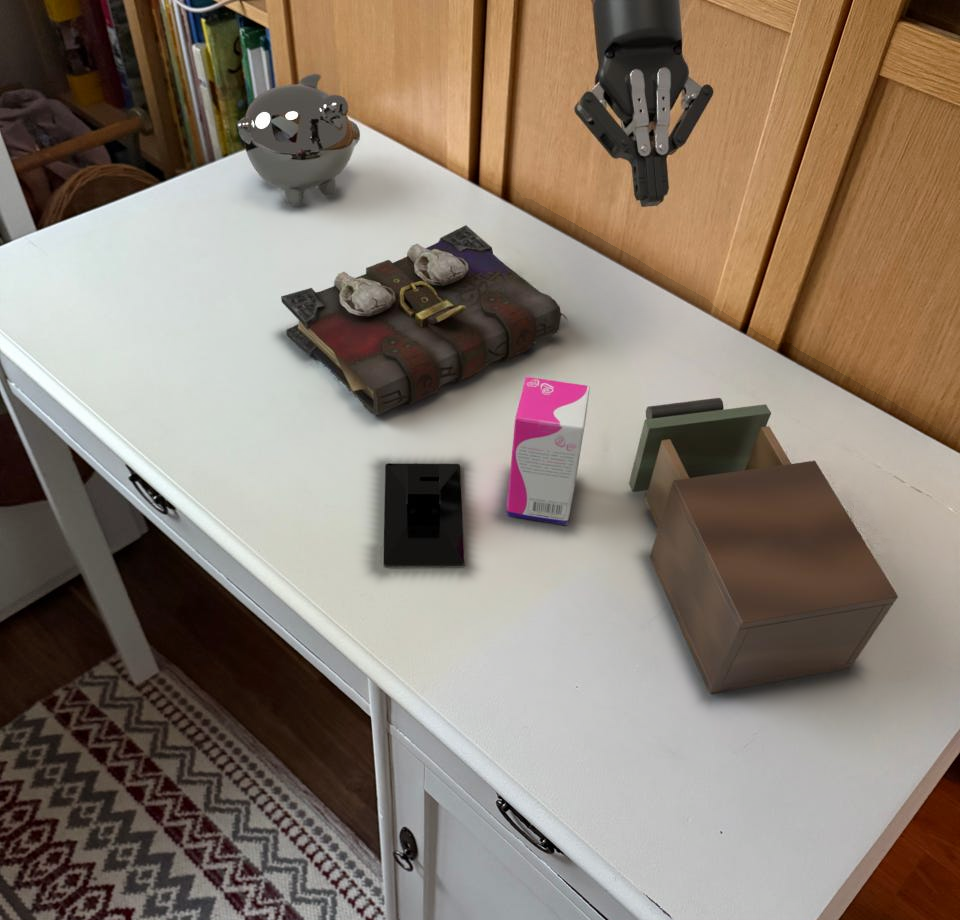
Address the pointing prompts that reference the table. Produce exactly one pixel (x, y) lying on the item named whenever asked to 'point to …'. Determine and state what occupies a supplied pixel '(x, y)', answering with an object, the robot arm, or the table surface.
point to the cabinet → (767, 575)
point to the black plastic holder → (423, 516)
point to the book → (421, 320)
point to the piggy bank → (299, 137)
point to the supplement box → (546, 449)
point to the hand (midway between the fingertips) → (652, 203)
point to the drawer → (700, 446)
